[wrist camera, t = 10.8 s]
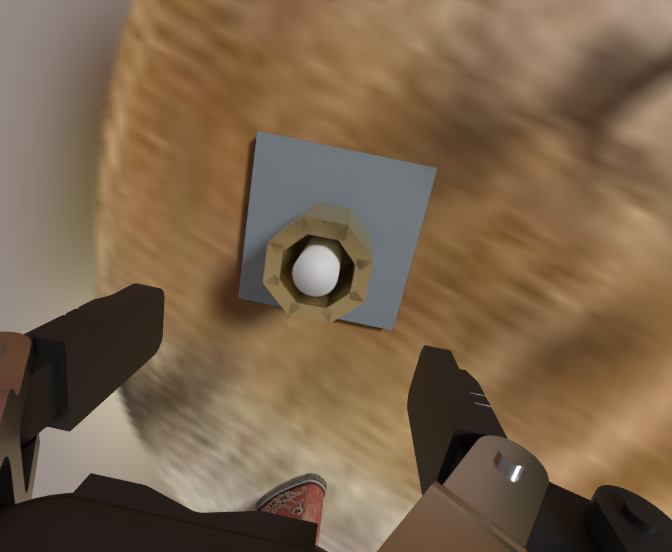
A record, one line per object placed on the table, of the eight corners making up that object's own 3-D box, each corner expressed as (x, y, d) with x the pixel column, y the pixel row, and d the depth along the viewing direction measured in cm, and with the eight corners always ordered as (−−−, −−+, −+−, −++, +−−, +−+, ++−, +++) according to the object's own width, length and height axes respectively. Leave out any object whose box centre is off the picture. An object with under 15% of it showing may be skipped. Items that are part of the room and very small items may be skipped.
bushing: (375, 212, 22) (380, 231, 17) (359, 289, 24) (358, 329, 18) (294, 197, 22) (271, 210, 17) (283, 274, 24) (259, 310, 18)
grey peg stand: (433, 167, 24) (478, 172, 15) (391, 323, 28) (406, 403, 19) (262, 132, 24) (201, 115, 15) (242, 292, 28) (185, 356, 19)
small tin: (312, 466, 33) (292, 589, 24) (334, 489, 34) (324, 617, 24) (249, 502, 35) (207, 629, 26) (271, 523, 36) (239, 654, 26)
